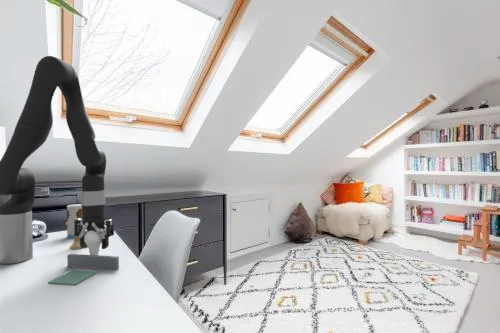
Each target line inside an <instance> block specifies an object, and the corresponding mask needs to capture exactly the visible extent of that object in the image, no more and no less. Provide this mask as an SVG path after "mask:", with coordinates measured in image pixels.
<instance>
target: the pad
mask: <svg viewBox="0 0 500 333" xmlns="http://www.w3.org/2000/svg"><path fill="white" fill-rule="evenodd" d="M98 272H99V271H98V270H81V269H72V270H70V271H67V272H66V273H65V272H64V274H61V275H59V276H57V277H55V278H53V279H52V280H49V281H47V284H50V285H51V284H52V285H67V286H78V285H79V284H81V283H82V282H84V281H86V280H87V279H90V278H91V277H93V276H95V275H96V274H98Z"/></svg>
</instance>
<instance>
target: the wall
mask: <svg viewBox="0 0 500 333" xmlns="http://www.w3.org/2000/svg"><path fill="white" fill-rule="evenodd" d="M66 257H67V260H66V261H67V263H66V264H67V268H80V269H97V270H99V269H100V270H114V271H116V270H118V269H120V256H116V255H102V254H101V255H100V254H98V255H90V254H80V253H70V254H67V256H66Z"/></svg>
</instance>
